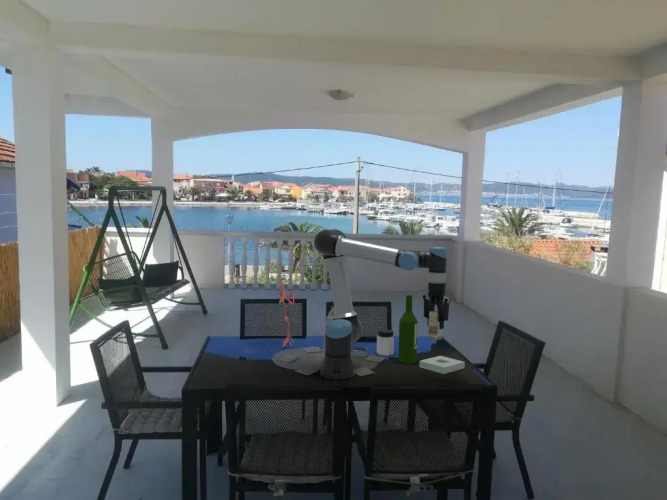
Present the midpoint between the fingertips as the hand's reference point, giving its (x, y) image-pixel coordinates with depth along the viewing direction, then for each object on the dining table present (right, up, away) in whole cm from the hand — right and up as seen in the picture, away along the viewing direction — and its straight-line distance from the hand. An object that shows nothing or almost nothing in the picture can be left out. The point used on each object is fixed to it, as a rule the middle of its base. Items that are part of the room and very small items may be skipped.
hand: (435, 335), depth 214 cm
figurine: (-74, -15, +53) cm, 92 cm away
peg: (0, -2, 0) cm, 2 cm away
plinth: (+6, -18, +16) cm, 25 cm away
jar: (-18, -17, +40) cm, 47 cm away
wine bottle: (-8, -18, +25) cm, 32 cm away
